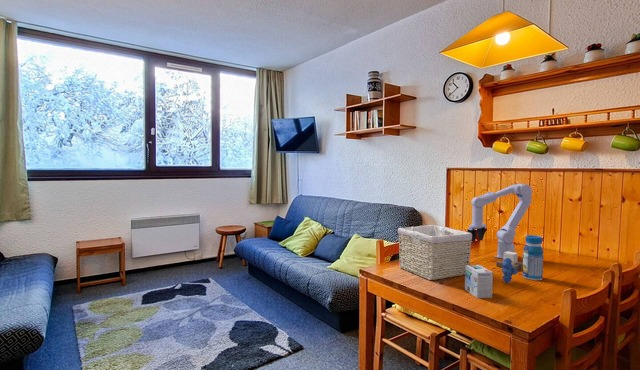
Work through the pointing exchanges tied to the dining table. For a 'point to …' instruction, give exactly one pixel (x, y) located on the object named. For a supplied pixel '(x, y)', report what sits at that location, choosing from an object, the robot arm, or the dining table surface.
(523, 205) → the robot arm
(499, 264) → the walnut block
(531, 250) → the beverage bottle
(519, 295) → the dining table surface
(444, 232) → the basket
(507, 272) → the grapes
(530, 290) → the dining table surface
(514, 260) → the off-white block
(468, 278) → the light bulb box
